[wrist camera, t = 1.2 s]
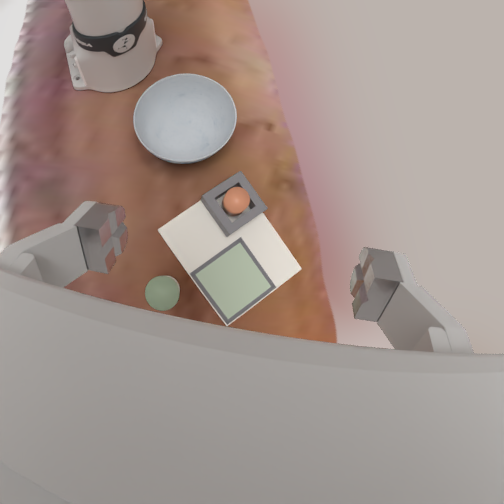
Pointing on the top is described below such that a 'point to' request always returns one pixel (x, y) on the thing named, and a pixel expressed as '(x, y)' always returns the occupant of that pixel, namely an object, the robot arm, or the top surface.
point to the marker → (162, 292)
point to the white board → (230, 251)
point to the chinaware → (185, 118)
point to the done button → (235, 201)
